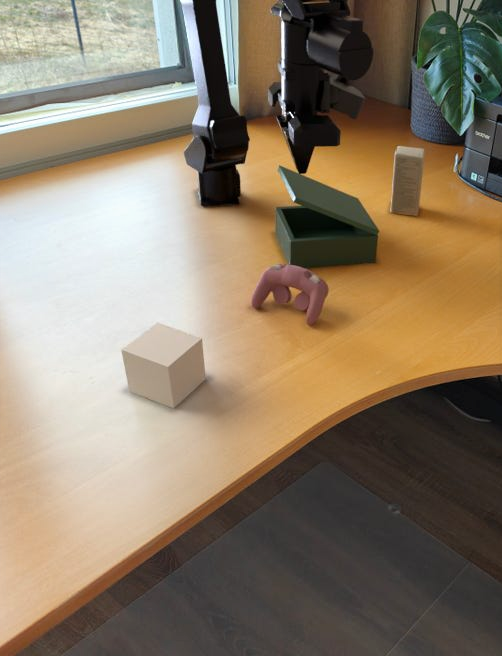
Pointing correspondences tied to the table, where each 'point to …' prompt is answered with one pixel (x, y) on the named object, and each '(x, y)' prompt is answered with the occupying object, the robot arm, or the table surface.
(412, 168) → the box
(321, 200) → the lid
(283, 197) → the table surface
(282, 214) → the toy chest
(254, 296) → the video game controller
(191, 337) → the beige cube block
